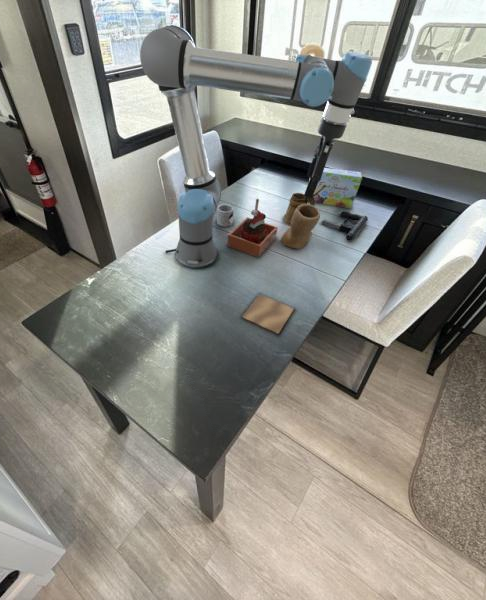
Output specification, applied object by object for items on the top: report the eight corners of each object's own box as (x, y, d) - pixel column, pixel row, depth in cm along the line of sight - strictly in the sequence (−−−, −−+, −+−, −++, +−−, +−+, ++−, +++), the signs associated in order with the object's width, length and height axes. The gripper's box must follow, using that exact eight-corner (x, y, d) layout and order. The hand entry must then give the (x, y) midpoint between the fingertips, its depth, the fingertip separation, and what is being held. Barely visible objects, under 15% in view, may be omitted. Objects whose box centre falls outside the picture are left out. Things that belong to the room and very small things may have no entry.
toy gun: (317, 225, 129) (356, 236, 122) (335, 206, 140) (372, 216, 133) (315, 232, 131) (354, 244, 124) (333, 213, 143) (369, 223, 135)
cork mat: (241, 317, 95) (241, 316, 95) (259, 294, 102) (259, 293, 102) (278, 334, 91) (278, 333, 90) (293, 309, 98) (294, 308, 97)
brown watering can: (311, 230, 130) (323, 189, 118) (280, 222, 135) (288, 181, 122) (316, 220, 136) (328, 180, 123) (286, 213, 140) (295, 173, 128)
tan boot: (304, 255, 118) (314, 219, 108) (275, 244, 123) (282, 209, 112) (319, 237, 127) (329, 202, 116) (292, 227, 132) (300, 193, 121)
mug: (231, 227, 131) (232, 212, 127) (216, 225, 132) (216, 211, 127) (234, 215, 138) (235, 201, 134) (219, 213, 139) (219, 199, 134)
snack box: (304, 202, 148) (312, 170, 137) (305, 196, 152) (312, 165, 141) (351, 209, 144) (362, 176, 133) (350, 203, 148) (362, 171, 137)
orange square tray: (227, 245, 122) (227, 234, 118) (245, 227, 131) (247, 217, 128) (258, 257, 117) (260, 246, 113) (275, 237, 126) (277, 227, 123)
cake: (252, 232, 129) (258, 190, 116) (269, 242, 124) (277, 199, 111) (234, 241, 124) (237, 198, 111) (250, 252, 119) (256, 208, 106)
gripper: (348, 140, 83) (318, 208, 99) (347, 108, 99) (321, 172, 115) (320, 133, 84) (295, 202, 100) (323, 103, 99) (301, 167, 116)
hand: (309, 186), depth 107 cm, fingers open, 13 cm apart
